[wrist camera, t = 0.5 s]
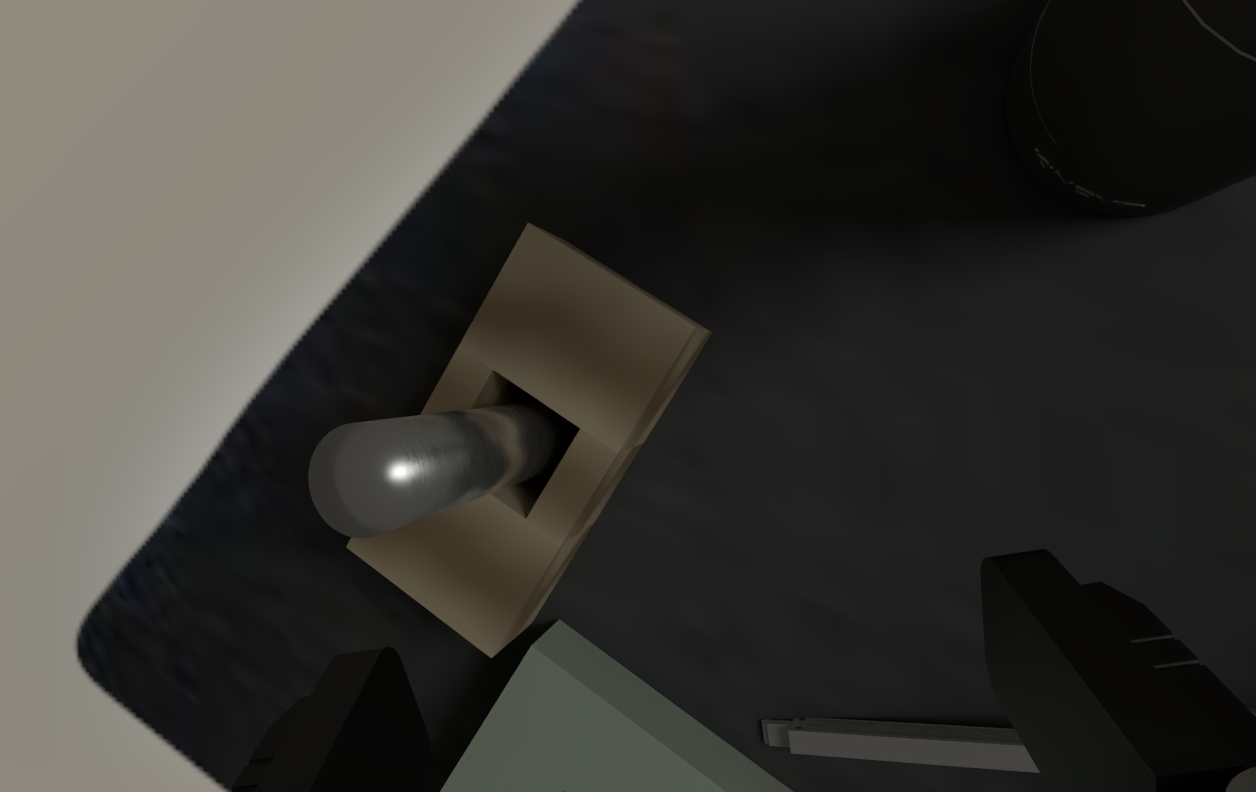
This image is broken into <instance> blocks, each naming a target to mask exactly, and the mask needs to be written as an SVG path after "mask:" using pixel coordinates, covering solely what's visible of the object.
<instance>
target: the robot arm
mask: <svg viewBox="0 0 1256 792" xmlns="http://www.w3.org/2000/svg"><path fill="white" fill-rule="evenodd" d="M1006 119H1007V126H1008V130H1009V133H1010V137H1011V140H1012V144H1013V147H1014V149H1015V151H1016V152H1017V154H1018V156H1019V158H1020V159H1021V161H1022V163H1023V165H1024V166H1025V168H1026V169H1027V170H1028V172H1029V173H1030V174H1031V175H1032V176H1033V177H1034V178H1035V179H1036V180H1037V181H1038V182H1039V183H1040V184H1041V185H1042V186H1043V187H1044V188H1045V189H1047V190H1048V191H1050V192H1051V193H1053V194H1054V195H1056V196H1057V197H1059V198H1060V199H1062V200H1063V201H1065V202H1067V203H1070V204H1072V205H1075V206H1077V207H1080V208H1082V209H1085V210H1087V211H1091V212H1096V213H1102V214H1107V215H1113V216H1146V215H1151V214H1156V213H1161V212H1166V211H1171V210H1175V209H1177V208H1180V207H1182V206H1185V205H1187V204H1190V203H1192V202H1195V201H1197V200H1200V199H1202V198H1204V197H1207V196H1209V195H1211V194H1213V193H1216V192H1218V191H1220V190H1222V189H1224V188H1227V187H1229V186H1231V185H1233V184H1236V183H1238V182H1241V181H1243V180H1246V179H1248V178H1250V177H1252V176H1255V175H1256V0H1049V2H1048V3H1047V5H1046V7H1045V8H1044V10H1043V12H1042V13H1041V15H1040V17H1039V18H1038V20H1037V22H1036V23H1035V25H1034V27H1033V28H1032V30H1031V32H1030V33H1029V35H1028V37H1027V38H1026V40H1025V42H1024V43H1023V45H1022V47H1021V48H1020V50H1019V53H1018V55H1017V58H1016V60H1015V62H1014V65H1013V67H1012V70H1011V72H1010V76H1009V82H1008V87H1007V93H1006ZM981 591H982V608H983V625H984V642H985V656H986V663H987V668H988V672H989V676H990V680H991V683H992V686H993V689H994V692H995V694H996V697H997V699H998V701H999V703H1000V705H1001V707H1002V709H1003V710H1004V712H1005V714H1006V716H1007V717H1008V719H1009V721H1010V722H1011V724H1012V726H1013V727H1014V729H1015V731H1016V733H1017V734H1018V736H1019V738H1020V739H1021V741H1022V743H1023V745H1024V746H1025V748H1026V750H1027V751H1028V753H1029V755H1030V757H1031V758H1032V760H1033V762H1034V763H1035V765H1036V767H1037V768H1038V770H1039V772H1040V774H1041V775H1042V777H1043V779H1044V780H1045V782H1046V784H1047V786H1048V787H1049V789H1050V791H1051V792H1256V716H1255V715H1254V714H1253V713H1252V712H1251V711H1250V710H1249V709H1248V708H1247V707H1246V706H1245V705H1244V704H1243V703H1242V702H1241V701H1240V700H1239V699H1238V698H1237V697H1236V696H1235V695H1234V694H1233V693H1232V692H1231V691H1230V690H1229V689H1228V688H1227V687H1226V686H1225V685H1224V684H1223V683H1222V682H1221V681H1220V680H1219V679H1218V678H1217V677H1216V676H1215V675H1214V674H1213V673H1212V672H1211V671H1210V670H1209V669H1208V668H1207V667H1206V666H1205V665H1201V666H1200V664H1199V662H1198V658H1197V657H1196V656H1195V655H1194V654H1193V653H1192V652H1191V651H1190V650H1189V649H1188V648H1187V647H1186V646H1185V645H1184V644H1183V643H1182V642H1181V641H1180V640H1179V639H1178V640H1175V639H1174V637H1173V633H1172V632H1171V631H1170V630H1169V629H1168V628H1167V627H1166V626H1165V625H1164V624H1163V623H1162V622H1161V621H1160V620H1159V619H1158V618H1157V617H1156V616H1155V615H1154V614H1153V613H1152V612H1151V611H1150V610H1149V609H1148V608H1147V607H1146V606H1145V605H1144V604H1142V603H1140V602H1138V601H1137V600H1135V599H1133V598H1131V597H1129V596H1127V595H1125V594H1123V593H1121V592H1119V591H1118V590H1116V589H1114V588H1112V587H1110V586H1108V585H1106V584H1104V583H1102V582H1096V583H1089V584H1083V585H1080V584H1079V583H1078V582H1077V581H1076V580H1075V579H1074V578H1073V577H1072V575H1071V574H1070V573H1069V572H1068V571H1067V570H1066V569H1065V568H1064V567H1063V565H1062V564H1061V563H1060V562H1059V561H1058V560H1057V559H1056V558H1055V557H1054V556H1053V555H1052V554H1051V553H1050V552H1049V551H1048V550H1045V549H1040V550H1034V551H1027V552H1021V553H1014V554H1008V555H1001V556H994V557H988V558H984V559H983V561H982V563H981ZM429 769H430V744H429V738H428V733H427V730H426V727H425V724H424V722H423V719H422V716H421V713H420V711H419V708H418V705H417V702H416V700H415V697H414V694H413V691H412V689H411V686H410V683H409V680H408V678H407V675H406V672H405V669H404V666H403V664H402V661H401V659H400V656H399V655H398V653H397V652H396V651H395V650H394V649H393V648H391V647H386V648H379V649H372V650H366V651H359V652H353V653H346V654H340V655H337V656H335V657H334V658H333V659H332V660H331V662H330V663H329V665H328V667H327V668H326V670H325V672H324V673H323V675H322V677H321V678H320V680H319V682H318V684H317V685H316V687H315V689H314V690H313V692H312V694H311V695H310V696H309V697H302V698H300V699H299V700H298V701H297V702H296V703H295V704H294V705H293V706H292V707H291V708H290V709H289V710H288V711H286V712H285V713H284V714H283V715H282V716H281V717H280V718H279V719H278V720H277V721H276V722H275V723H274V724H273V725H272V726H271V727H270V728H269V729H268V731H267V732H266V734H265V735H264V737H263V739H262V740H261V742H260V743H259V745H258V747H257V748H256V750H255V751H254V753H253V755H252V756H251V758H250V759H249V766H248V767H244V769H243V771H242V772H241V774H240V775H239V777H238V778H237V780H236V782H235V783H234V785H233V786H232V792H424V789H425V786H426V783H427V779H428V775H429Z"/></svg>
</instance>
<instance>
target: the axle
mask: <svg viewBox="0 0 1256 792" xmlns="http://www.w3.org/2000/svg"><path fill="white" fill-rule="evenodd" d="M579 430H580V428H579V427H577V426H576V425H575V424H573V423H572V422H570V421H569V420H567V419H566V418H564V417H563V416H561V415H560V414H558V413H557V412H555V411H554V410H552V409H551V408H549V407H548V406H546V405H545V404H543V403H542V402H540V401H536V402H527V403H519V404H510V405H502V406H493V407H485V408H476V409H468V410H459V411H451V412H442V413H434V414H425V415H417V416H408V417H399V418H391V419H382V420H374V421H365V422H357V423H350V424H345V425H342V426H339V427H337V428H335V429H333V430H332V431H331V432H329V433H328V434H327V435H326V436H325V437H324V438H323V439H322V440H321V441H320V442H319V444H318V445H317V447H316V449H315V451H314V453H313V455H312V458H311V461H310V466H309V475H308V480H309V489H310V494H311V498H312V500H313V503H314V505H315V507H316V509H317V511H318V513H319V514H320V515H321V517H322V518H323V519H324V520H325V522H326V523H327V524H328V525H330V526H331V527H332V528H333V529H335V530H336V531H338V532H340V533H342V534H344V535H346V536H349V537H354V538H371V537H375V536H378V535H381V534H383V533H386V532H389V531H391V530H394V529H397V528H399V527H402V526H405V525H407V524H410V523H413V522H415V521H418V520H421V519H423V518H426V517H429V516H431V515H434V514H437V513H439V512H442V511H445V510H447V509H450V508H453V507H455V506H458V505H461V504H463V503H466V502H469V501H471V500H474V499H477V498H479V497H482V496H485V495H487V494H490V493H493V492H496V491H498V490H501V489H504V488H506V487H509V486H512V485H514V484H517V483H520V482H522V481H525V480H528V479H530V478H533V477H536V476H538V475H541V474H544V473H546V472H549V471H552V470H554V469H556V468H557V467H558V465H559V463H560V462H561V460H562V458H563V457H564V455H565V453H566V452H567V450H568V448H569V447H570V445H571V443H572V442H573V440H574V438H575V437H576V435H577V433H578V432H579Z"/></svg>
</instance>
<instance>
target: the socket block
mask: <svg viewBox="0 0 1256 792" xmlns="http://www.w3.org/2000/svg"><path fill="white" fill-rule="evenodd" d="M563 791H564V792H793V791H791V790H790V789H789V788H787V787H786V786H785V785H783V784H782V783H781V782H779V781H778V780H777V779H775V778H774V777H772V776H771V775H770V774H768V773H767V772H766V771H764V770H763V769H762V768H760V767H759V766H758V765H756V764H755V763H753V762H752V761H751V760H749V759H748V758H747V757H745V756H744V755H743V754H741V753H740V752H739V751H737V750H736V749H734V748H733V747H732V746H730V745H729V744H728V743H726V742H725V741H724V740H722V739H721V738H720V737H718V736H717V735H716V734H714V733H713V732H711V731H710V730H709V729H707V728H706V727H705V726H703V725H702V724H701V723H699V722H698V721H697V720H695V719H694V718H692V717H691V716H690V715H688V714H687V713H686V712H684V711H683V710H682V709H680V708H679V707H678V706H676V705H675V704H673V703H672V702H671V701H669V700H668V699H667V698H665V697H664V696H663V695H661V694H660V693H659V692H657V691H656V690H655V689H653V688H652V687H650V686H649V685H648V684H646V683H645V682H644V681H642V680H641V679H640V678H638V677H637V676H636V675H634V674H633V673H631V672H630V671H629V670H627V669H626V668H625V667H623V666H622V665H621V664H619V663H618V662H617V661H615V660H614V659H612V658H611V657H610V656H608V655H607V654H606V653H604V652H603V651H602V650H600V649H599V648H598V647H596V646H595V645H594V644H592V643H591V642H589V641H588V640H587V639H585V638H584V637H583V636H581V635H580V634H579V633H577V632H576V631H575V630H573V629H572V628H570V627H569V626H568V625H566V624H565V623H564V622H562V621H561V620H560V619H559V620H558V621H557V622H556V623H555V624H554V625H553V626H552V627H551V628H550V629H548V630H547V631H546V632H545V633H544V634H543V635H542V636H541V637H540V638H539V639H538V640H537V641H536V642H535V643H534V644H532V645H531V647H530V649H529V650H528V652H527V653H526V655H525V657H524V658H523V660H522V661H521V663H520V665H519V666H518V668H517V669H516V671H515V673H514V674H513V676H512V677H511V679H510V681H509V682H508V684H507V685H506V687H505V689H504V690H503V692H502V693H501V695H500V697H499V698H498V700H497V701H496V703H495V705H494V706H493V708H492V709H491V711H490V713H489V714H488V716H487V717H486V719H485V721H484V722H483V724H482V725H481V727H480V729H479V730H478V732H477V733H476V735H475V737H474V738H473V740H472V741H471V743H470V745H469V746H468V748H467V749H466V751H465V753H464V754H463V756H462V757H461V759H460V761H459V762H458V764H457V765H456V767H455V769H454V770H453V772H452V773H451V775H450V777H449V778H448V780H447V781H446V783H445V785H444V786H443V788H442V789H441V791H440V792H563Z"/></svg>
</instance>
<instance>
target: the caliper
mask: <svg viewBox="0 0 1256 792" xmlns="http://www.w3.org/2000/svg"><path fill="white" fill-rule="evenodd" d="M1248 709H1249V710H1250V711H1251V712H1252V713H1253V714H1254V715H1255V716H1256V708H1248ZM761 721H762V728H763V735H764V742H765V744H769V745H770V746H778V747H790V748H791V753H794V754H807V755H819V756H832V757H844V758H856V759H869V760H881V761H894V762H907V763H920V764H932V765H945V766H958V767H971V768H984V769H997V770H1010V771H1023V772H1036V773H1040V772H1039V770H1038V768H1037V767H1036V765H1035V763H1034V762H1033V760H1032V758H1031V757H1030V755H1029V753H1028V751H1027V750H1026V748H1025V746H1024V745H1023V743H1022V741H1021V739H1020V738H1019V736H1018V734H1017V733H1016V731H1015V729H1014V728H998V727H980V726H963V725H946V724H929V723H912V722H896V721H879V720H862V719H846V718H797V719H793V720H792V721H789V720H775V719H764V720H761Z"/></svg>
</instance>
